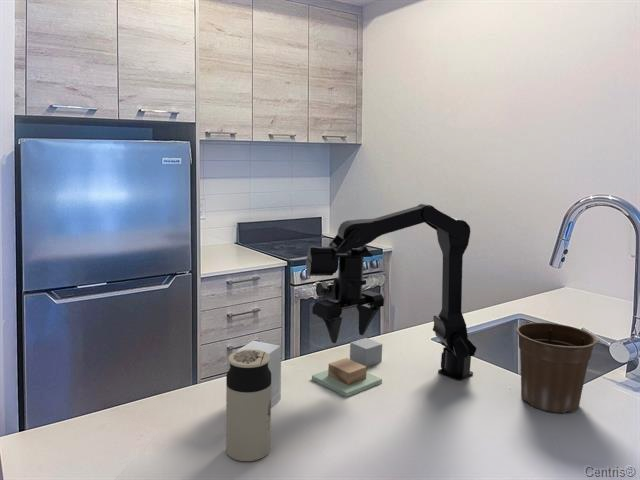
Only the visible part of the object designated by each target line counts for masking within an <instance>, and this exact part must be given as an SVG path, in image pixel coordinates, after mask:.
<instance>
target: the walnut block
mask: <svg viewBox="0 0 640 480" xmlns="http://www.w3.org/2000/svg"><path fill="white" fill-rule="evenodd" d="M327 367H328V368H327V370H328V376H330V377H332V378H334V379H336V380H338V381H340V382H342V383H345V384H347V385H351V384H353V383H356V382H359V381H361V380H364V379H366V372H367V370H368V369H367V367H368V366H367V367H366V366H364V365H361V364H359V363H357V362H354V361H352V360H350V358H347V357H346V358H341V359H339V360H336V361H332V362H330V363H328V366H327Z"/></svg>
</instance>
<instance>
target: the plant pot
mask: <svg viewBox="0 0 640 480" xmlns="http://www.w3.org/2000/svg"><path fill="white" fill-rule="evenodd" d="M516 333H517V335H518V348H519V349H520V353H519V354H520V356H519V357H520V388H521V389H520V393H521V394H520V396H521V399H522V400H523V401H524V402H527V403H528V404H529V406H530V407H533V408H536V409H538V410H540V411H543V412H549V413H556V414H564V413H566V412H570V413H574V412H576V411H577V410H578V409H579V407H580V404H581V398H582V394H583V393H582V392H583V388H584V383H585V379H586V374H587V369H588V365H589V361H590V360H591V358H592V354H593V350H594V346H595V345H596V344H597V342H598V341H597V338H596V337H595V336H594V335H593V334H592V333H590V332H588V331H586V330H583V329H581V328H577V327H574V326H569V325H565V324H559V323H555V322H554V323H553V322H527V323H523V324H520V325H518V326H517V327H516Z"/></svg>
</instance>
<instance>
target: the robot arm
mask: <svg viewBox="0 0 640 480" xmlns="http://www.w3.org/2000/svg"><path fill="white" fill-rule="evenodd" d="M423 223H425V224H426V225H427V226H428V227H431V228H432V229H434V230H435V231H436V237H437V243H438V246H439V248H440V250H441V253H442V272H441V273H442V282H441V284H442V286H441V288H442V290H441V310H440V312H439V314H438V315H433V318H432V319H433V327H432V331H433V332H434V333H435V334H434V335H435V336H436V338H437V339H438V340H439V341H440V344H441V346H443V349H442V352H441V358H440V369H438V373H439V374H441V375H444V376H446V377H449V378H452V379H454V380H457V381H461V380H463V379H466V378H468V377H470V376H473V375H474V372H473V371H472V370H471V360H472V357H474V356H475V354H476V351H477V347H476V345H474V344H473V343H472V342H471V341H470V340H469V339H468V338H469V335H468V329H467V324H466V321H465V318H464V315H463V313H462V307H463V306H462V302H463V300H462V299H463V298H462V297H463V257H464V254H465V252H466V250H467V248H468V246H469V242H470V238H471V227H470V224H468V223H467V222H466V220H464V219H460V218H455V217H452V216H450V215H448V214H446V213H444V212H442V211H440V210H438V209H437V208H436V207H435V206H433V205H430V204H427V203H420V204H418V205H416V206H413V207H409V208H406V209H403V210H400V211H396V212H392V213H390V214H385V215H382V216H378V217H375V218H363V219H362V218H361V219H351V220H345V221H343V222H342V223H340V225H339V227H338V230H337V234H336V235H335V236H334V238H333V239H332V240H331V242H330V243H329V245H328V246H315V245H309V246H308V252H307V256H306V258H305V267H306V268H305V269H306V275H307V276H308V277H314V276H315V277H321V276H323V277H324V276H325V277H326V276H329V277H331V276H332V277H333V275H334V274H336V273H337V271H338V276H337V277H335V278H334V279H333V283H331V284H328V283H327V282H326V281H323V282H322V281H321V282H317V283H316V285H315V293H316V296H317V297H321V299H322V300H318V301H315V302H313V304H312V310H311V311H312V315H315V316H317V318H320V319H322V320H323V322H324V323H325V326H326V328H327V332H328V334H329V337H330V341H331V343H332V344H334V345H335V344H337V342H338V337H339V335H340V330H341V325H342V320H343V317H341V315H342V313H343V310H346V309H350V308H356V309H357V311H358V334H359V335H360V336H364V334H365V333H366V331H367V329H368V327H369V326H370V324H371V322H372V321H373V319H374V318H375V316H376V315H377V313H378V311H380V310H381V307H384V306H385V304H384V303H385V298H384V296H383V294H381V293H379V292H375V291H372V290H364V291H363V286H366V285H367V279H364V278H363V277H364V261H365V259H364V258H372V257H374V255H373V252H372V253H371V251H370V250H369V249H368V247H367V245H368V244H370V243H372V242H374V241H375V240H376V239H377V238H379V237H381V236H383V235H386V234H387V235H388V234H390V233H394V232H397V231H400V230H404V229H406V228H410V227H413V226H417V225H420V224H423ZM328 298H331V300H330V299H329V300H328ZM335 301H337V302H335Z"/></svg>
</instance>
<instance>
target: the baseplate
mask: <svg viewBox="0 0 640 480" xmlns="http://www.w3.org/2000/svg"><path fill="white" fill-rule="evenodd" d="M311 380H313V381H314V382H317V383H318V384H320V385H322V386H324V387H326V388H328V389H330V390H332V391H334V392H336V393H338V394H340V395H341V396H344V397H345V398H348V397H350V396H353V395H355V394H357V393H360V392H362V391H364V390H368V389H370V388H372V387H376V386H377V385H381V384H382V383H383V378H382V377H378V376H376V375H374V374H373V373H370V372H367V371H366V379H364V380H361V381H359V382H356V383H353V384H351V385H347V384H345V383H342V382H340V381H338V380H336V379H334V378H332V377H330V376H328V369H326V370H322V371H320V372H317V373H315V374H311Z"/></svg>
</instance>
